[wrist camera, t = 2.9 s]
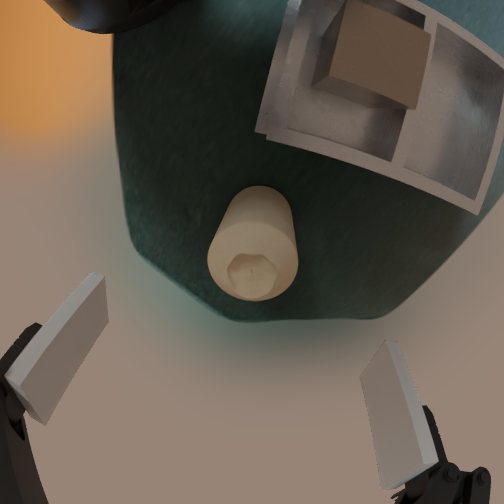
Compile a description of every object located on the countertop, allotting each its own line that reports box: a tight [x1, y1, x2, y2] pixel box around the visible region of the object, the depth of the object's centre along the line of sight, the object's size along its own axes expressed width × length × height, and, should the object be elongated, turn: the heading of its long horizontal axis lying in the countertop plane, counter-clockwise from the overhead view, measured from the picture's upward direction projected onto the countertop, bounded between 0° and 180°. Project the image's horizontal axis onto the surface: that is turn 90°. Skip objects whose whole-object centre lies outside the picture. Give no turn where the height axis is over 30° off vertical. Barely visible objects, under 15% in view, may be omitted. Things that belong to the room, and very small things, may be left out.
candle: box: [208, 186, 298, 301], centre depth 21 cm, size 6×6×10 cm
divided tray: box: [255, 0, 504, 216], centre depth 17 cm, size 20×14×5 cm
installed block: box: [310, 0, 431, 110], centre depth 14 cm, size 5×5×8 cm
